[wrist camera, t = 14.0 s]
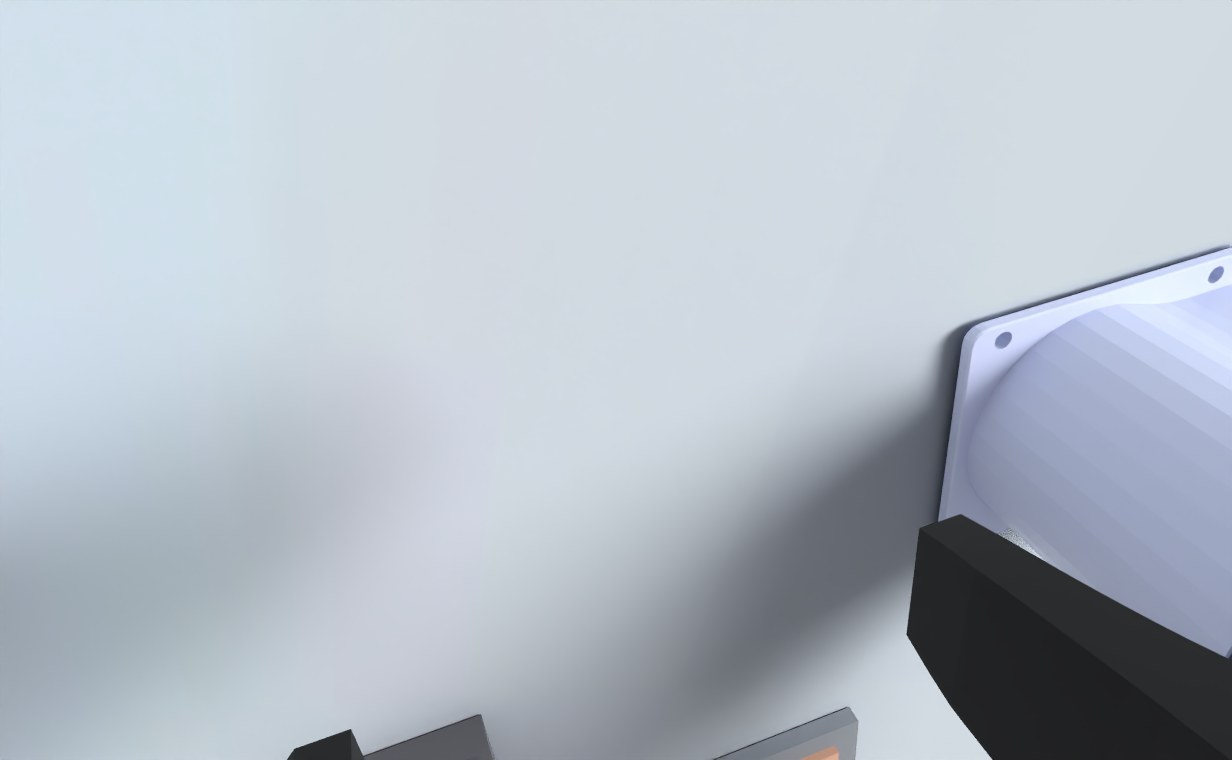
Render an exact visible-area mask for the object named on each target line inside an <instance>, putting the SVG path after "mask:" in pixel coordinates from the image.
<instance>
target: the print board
mask: <svg viewBox="0 0 1232 760" xmlns="http://www.w3.org/2000/svg"><path fill="white" fill-rule="evenodd" d="M857 731H858V720H857V718H856V717H855V715H854V714H853V712H852V711H851V709H850V708H849V707H848V708H845V709H843V710H840V711H838V712H835V713H833V714H830V715H828V716H825V717H822V718H820V719H817V720H815V721H812V722H810V723H807V724H805V725H802V726H800V727H797V728H795V729H792V730H789V731H787V732H784V733H782V734H779V735H777V736H774V737H772V738H769V739H767V740H764V741H762V742H759V743H757V744H754V745H751V746H749V747H746V748H744V749H741V750H739V751H736V752H734V753H731V754H729V755H726V756H724V757H721V758H719V759H716V760H855V755H856V743H857Z"/></svg>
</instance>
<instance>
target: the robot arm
mask: <svg viewBox="0 0 1232 760" xmlns="http://www.w3.org/2000/svg"><path fill="white" fill-rule="evenodd" d="M999 335H1000V336H999ZM998 336H999V337H998ZM997 337H998V338H997ZM996 338H997V339H996ZM1008 529H1012V530H1013V531H1015V532H1016V533H1017V534H1018V535H1019V536H1020V537H1021V538H1022V539H1023V540H1024V541H1025V542H1026V543H1027V544H1028V545H1029V546H1030V547H1031V548H1032V549H1033V550H1035V551H1036V552H1037V553H1038V554H1039V555H1040V556H1041V557H1042V558H1043V559H1044V560H1045V561H1046V562H1045V561H1043V560H1042V559H1040V558H1038V557H1036V556H1035V555H1033V554H1031V553H1029V552H1028V551H1026V550H1024V549H1022V548H1021V547H1019V546H1017V545H1015V544H1014V543H1012V542H1010V541H1008V540H1007V539H1005V538H1003V537H1001V536H1000V535H998V534H997V533H1000V532H1003V531H1005V530H1008ZM907 636H908V638H909V640H910V641H911V643H912V645H913V646H914V648H915V650H916V651H917V653H918V655H919V656H920V658H921V660H922V661H923V663H924V665H925V666H926V668H927V670H928V671H929V673H930V675H931V676H932V678H933V679H934V681H935V682H936V684H937V686H938V687H939V689H940V690H941V692H942V693H943V695H944V697H945V698H946V700H947V701H948V703H949V704H950V706H951V707H952V709H953V710H954V711H955V712H956V714H957V715H958V716H959V718H960V719H961V720H962V721H963V723H964V724H965V725H966V727H967V728H968V729H969V730H970V732H971V733H972V734H973V735H974V737H975V738H976V739H977V741H978V742H979V743H980V744H981V746H982V747H983V748H984V749H985V751H986V752H987V753H988V755H989V756H990V757H991V758H992V760H1232V247H1231V248H1228V249H1224V250H1221V251H1218V252H1215V253H1211V254H1208V255H1205V256H1201V257H1198V258H1195V259H1191V260H1188V261H1185V262H1181V263H1178V264H1175V265H1171V266H1168V267H1165V268H1161V269H1158V270H1155V271H1151V272H1148V273H1145V274H1142V275H1138V276H1135V277H1132V278H1128V279H1125V280H1122V281H1118V282H1115V283H1112V284H1108V285H1105V286H1102V287H1098V288H1095V289H1092V290H1088V291H1085V292H1082V293H1078V294H1075V295H1072V296H1069V297H1065V298H1062V299H1059V300H1055V301H1052V302H1049V303H1045V304H1042V305H1039V306H1035V307H1032V308H1029V309H1025V310H1022V311H1019V312H1015V313H1012V314H1009V315H1005V316H1002V317H999V318H996V319H992V320H989V321H986V322H982V323H980V324H978V325H976V326H974V327H972V328H971V329H970V330H969V331H968V332H967V334H966V335H965V337H964V340H963V343H962V349H961V357H960V364H959V371H958V379H957V386H956V393H955V401H954V408H953V415H952V423H951V430H950V437H949V445H948V452H947V459H946V466H945V474H944V481H943V488H942V496H941V503H940V510H939V518H938V522H936V523H933V524H930V525H928V526H925V527H922V528H919V536H918V544H917V553H916V561H915V569H914V577H913V586H912V594H911V602H910V610H909V619H908V627H907ZM287 760H365V759H364V757H363V755H362V753H361V751H360V748H359V746H358V744H357V742H356V739H355V737H354V735H353V733H352V731H351V729H350V730H347V731H344V732H341V733H338V734H335V735H333V736H330V737H327V738H324V739H321V740H318V741H316V742H313V743H310V744H307V745H304V746H301V747H299V748H296V749H294V751H293V752H292V753H291V755H290V756H289V757H288V759H287Z"/></svg>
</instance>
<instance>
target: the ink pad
mask: <svg viewBox="0 0 1232 760" xmlns="http://www.w3.org/2000/svg"><path fill="white" fill-rule="evenodd" d="M364 759H365V760H495V759H494V756H493V752H492V749H491V746H490V743H489V739H488V736H487V733H486V730H485V727H484V723H483V720H482V717H481V715H478V716H475V717H473V718H470V719H467V720H464V721H462V722H459V723H456V724H453V725H451V726H448V727H445V728H442V729H439V730H437V731H434V732H431V733H428V734H426V735H423V736H420V737H417V738H414V739H412V740H409V741H406V742H403V743H401V744H398V745H395V746H392V747H390V748H387V749H384V750H381V751H378V752H376V753H373V754H370V755H367V756H365V757H364Z"/></svg>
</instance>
